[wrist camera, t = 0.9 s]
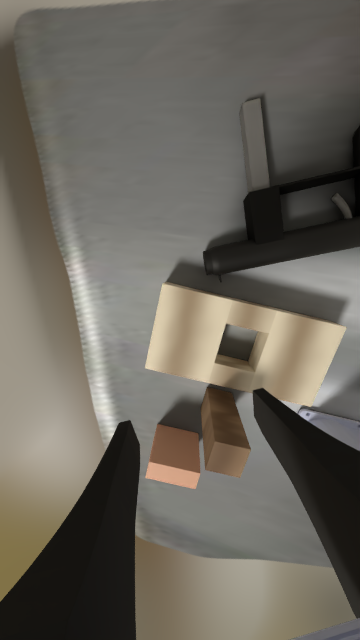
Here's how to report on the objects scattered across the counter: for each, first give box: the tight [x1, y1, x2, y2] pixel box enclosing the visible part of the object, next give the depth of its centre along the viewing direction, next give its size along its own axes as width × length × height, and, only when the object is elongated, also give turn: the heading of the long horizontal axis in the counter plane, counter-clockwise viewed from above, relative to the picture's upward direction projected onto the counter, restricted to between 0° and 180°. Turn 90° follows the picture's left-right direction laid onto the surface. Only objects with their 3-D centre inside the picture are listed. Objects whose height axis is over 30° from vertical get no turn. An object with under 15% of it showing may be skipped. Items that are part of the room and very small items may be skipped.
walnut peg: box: [201, 387, 251, 478], centre depth 24 cm, size 3×3×9 cm
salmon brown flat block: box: [146, 424, 200, 489], centre depth 27 cm, size 6×2×6 cm, turn 77°
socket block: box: [145, 282, 347, 407], centre depth 24 cm, size 20×10×3 cm, turn 77°
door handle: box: [203, 98, 360, 282], centre depth 21 cm, size 3×20×16 cm
